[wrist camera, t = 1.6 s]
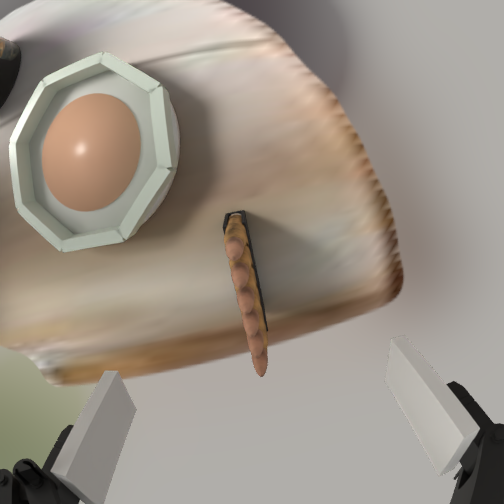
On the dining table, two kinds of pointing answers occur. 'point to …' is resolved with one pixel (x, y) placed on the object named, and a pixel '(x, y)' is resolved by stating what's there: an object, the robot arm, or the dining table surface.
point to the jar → (8, 67)
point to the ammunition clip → (247, 286)
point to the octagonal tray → (94, 153)
